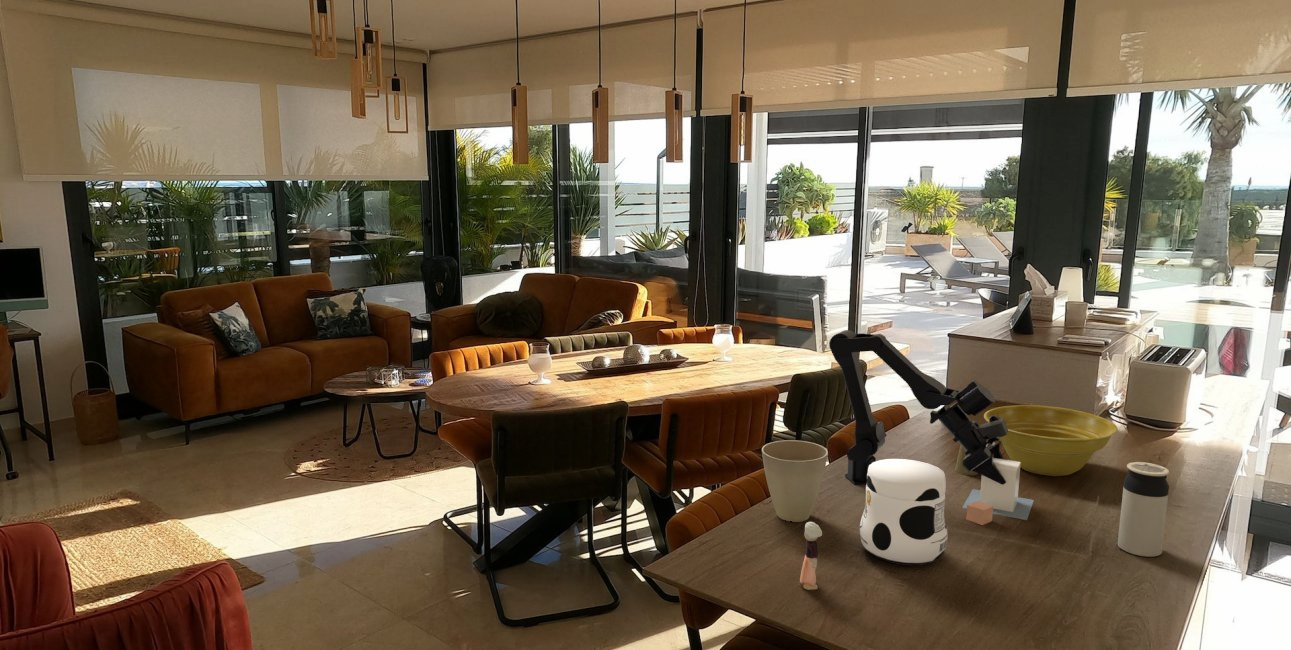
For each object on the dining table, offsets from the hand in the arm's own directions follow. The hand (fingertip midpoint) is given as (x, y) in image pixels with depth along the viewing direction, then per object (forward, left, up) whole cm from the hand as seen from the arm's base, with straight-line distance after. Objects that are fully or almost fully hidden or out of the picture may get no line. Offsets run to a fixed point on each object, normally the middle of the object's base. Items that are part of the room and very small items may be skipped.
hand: (1006, 478), depth 193 cm
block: (-11, -7, -7) cm, 15 cm away
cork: (+4, +23, -7) cm, 24 cm away
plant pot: (-52, +3, -7) cm, 52 cm away
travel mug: (+14, -26, -7) cm, 30 cm away
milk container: (-36, -19, -7) cm, 41 cm away
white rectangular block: (-1, +1, -7) cm, 7 cm away
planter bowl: (+27, +23, -7) cm, 36 cm away
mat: (-1, +1, -7) cm, 7 cm away
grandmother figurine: (-60, -29, -7) cm, 67 cm away
